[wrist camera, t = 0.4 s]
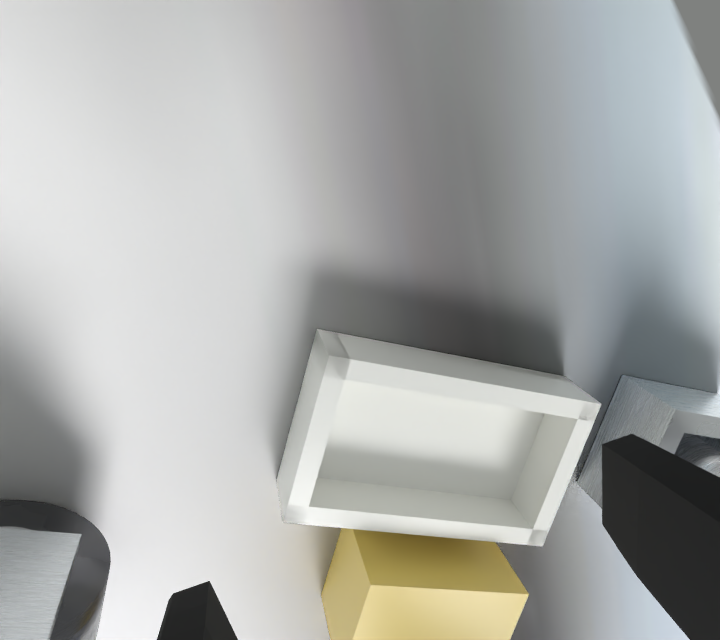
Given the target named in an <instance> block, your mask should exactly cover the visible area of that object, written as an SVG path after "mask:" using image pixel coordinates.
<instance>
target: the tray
mask: <svg viewBox="0 0 720 640" xmlns="http://www.w3.org/2000/svg"><path fill="white" fill-rule="evenodd" d="M601 405H602V404H601V403H600V402H598V401H597V400H596V399H594V398H593V397H592V396H590V395H589V394H588V393H586V392H585V391H584V390H582V389H581V388H580V387H578V386H577V385H576V384H574V383H573V382H572V381H571V380H569V379H568V378H567V377H565V376H561V375H556V374H551V373H546V372H540V371H535V370H530V369H525V368H520V367H514V366H509V365H504V364H499V363H493V362H488V361H483V360H478V359H472V358H467V357H462V356H457V355H452V354H446V353H441V352H436V351H431V350H425V349H420V348H415V347H410V346H404V345H399V344H394V343H389V342H384V341H378V340H373V339H368V338H363V337H357V336H352V335H347V334H342V333H337V332H331V331H326V330H321V329H317V330H316V334H315V338H314V342H313V345H312V349H311V353H310V357H309V360H308V364H307V368H306V371H305V375H304V379H303V383H302V386H301V390H300V394H299V398H298V401H297V405H296V409H295V413H294V416H293V420H292V424H291V428H290V431H289V435H288V439H287V443H286V446H285V450H284V454H283V458H282V461H281V465H280V469H279V473H278V476H277V480H276V482H277V489H278V495H279V501H280V508H281V514H282V520H283V523H292V524H303V525H314V526H325V527H336V528H347V529H358V530H369V531H380V532H391V533H402V534H413V535H424V536H434V537H445V538H456V539H467V540H478V541H489V542H500V543H511V544H522V545H533V546H543V544H544V541H545V539H546V537H547V534H548V532H549V529H550V527H551V525H552V522H553V520H554V517H555V515H556V513H557V510H558V508H559V505H560V503H561V501H562V498H563V496H564V493H565V491H566V489H567V486H568V484H569V481H570V479H571V477H572V474H573V472H574V469H575V467H576V465H577V462H578V460H579V457H580V455H581V453H582V450H583V448H584V445H585V443H586V441H587V438H588V436H589V433H590V431H591V429H592V426H593V424H594V421H595V419H596V417H597V414H598V412H599V409H600V407H601Z"/></svg>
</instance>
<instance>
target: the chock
mask: <svg viewBox="0 0 720 640" xmlns="http://www.w3.org/2000/svg"><path fill="white" fill-rule="evenodd" d="M528 596H529V594H528V592H527V591H526V589H525V587H524V586H523V584H522V583H521V581H520V580H519V578H518V577H517V575H516V574H515V572H514V570H513V569H512V567H511V566H510V564H509V563H508V561H507V560H506V558H505V557H504V555H503V553H502V552H501V550H500V549H499V547H498V546H497V544H496V543H495V542H489V541H478V540H467V539H456V538H445V537H434V536H424V535H413V534H402V533H391V532H380V531H369V530H358V529H347V528H341V531H340V534H339V538H338V541H337V544H336V548H335V551H334V554H333V557H332V561H331V564H330V567H329V570H328V574H327V577H326V580H325V584H324V587H323V590H322V593H321V598H322V602H323V607H324V612H325V616H326V621H327V626H328V630H329V635H330V639H331V640H510V639H511V636H512V634H513V631H514V629H515V627H516V624H517V622H518V619H519V617H520V615H521V612H522V610H523V608H524V605H525V603H526V600H527V598H528Z"/></svg>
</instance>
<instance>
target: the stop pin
mask: <svg viewBox="0 0 720 640" xmlns="http://www.w3.org/2000/svg"><path fill="white" fill-rule="evenodd" d="M674 455H676V456H678V457H680V458H682V459H684V460H686V461H688V462H690V463H692V464H694V465H696V466H698V467H700V468H702V469H704V470H706V471H708V472H710V473H712V474H714V475H716V476H718V477H720V452H719V451H717V450H716V449H714V448H713V447H711V446H710V445H708V444H707V443H705V442H704V441H703V440H701V439H700V438H698V437H697V436H695V435H694V434H689V433H684V434H683V436H682V439H681V441H680V443H679V445H678V447H677V449H676V452H675V454H674Z"/></svg>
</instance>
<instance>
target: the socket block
mask: <svg viewBox="0 0 720 640" xmlns="http://www.w3.org/2000/svg"><path fill="white" fill-rule="evenodd" d="M684 433H689V434H694V435H695V436H697V437H698V438H700V439H701V440H703V441H704V442H705V443H707V444H708V445H710V446H711V447H713V448H714V449H716V450H717V451H719V452H720V395H719V394H716V393H711V392H706V391H701V390H696V389H691V388H686V387H681V386H676V385H671V384H665V383H660V382H655V381H650V380H645V379H640V378H635V377H630V376H625V375H622V376H621V379H620V381H619V384H618V386H617V388H616V391H615V393H614V395H613V398H612V400H611V403H610V405H609V407H608V410H607V412H606V414H605V417H604V419H603V422H602V424H601V426H600V429H599V431H598V433H597V436H596V438H595V441H594V443H593V445H592V448H591V450H590V453H589V455H588V457H587V460H586V462H585V464H584V467H583V469H582V472H581V474H580V476H579V479H578V481H577V484H578V485H579V486H580V487H581V488H582V489H583V490H584V491H585V492H586V493H587V494H588V495H589V496H590V497H591V498H592V499H593V500H594V501H595V502H596V503H597V504H598V505H599V506H600V507H601V508H602V444H604V443H606V442H609V441H612V440H615V439H618V438H621V437H624V436H627V435H629V434H634V435H636V436H638V437H640V438H642V439H644V440H646V441H648V442H650V443H652V444H654V445H656V446H658V447H660V448H662V449H664V450H666V451H668V452H670V453H672V454H675V452H676V449H677V447H678V445H679V443H680V441H681V439H682V436H683V434H684Z"/></svg>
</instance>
